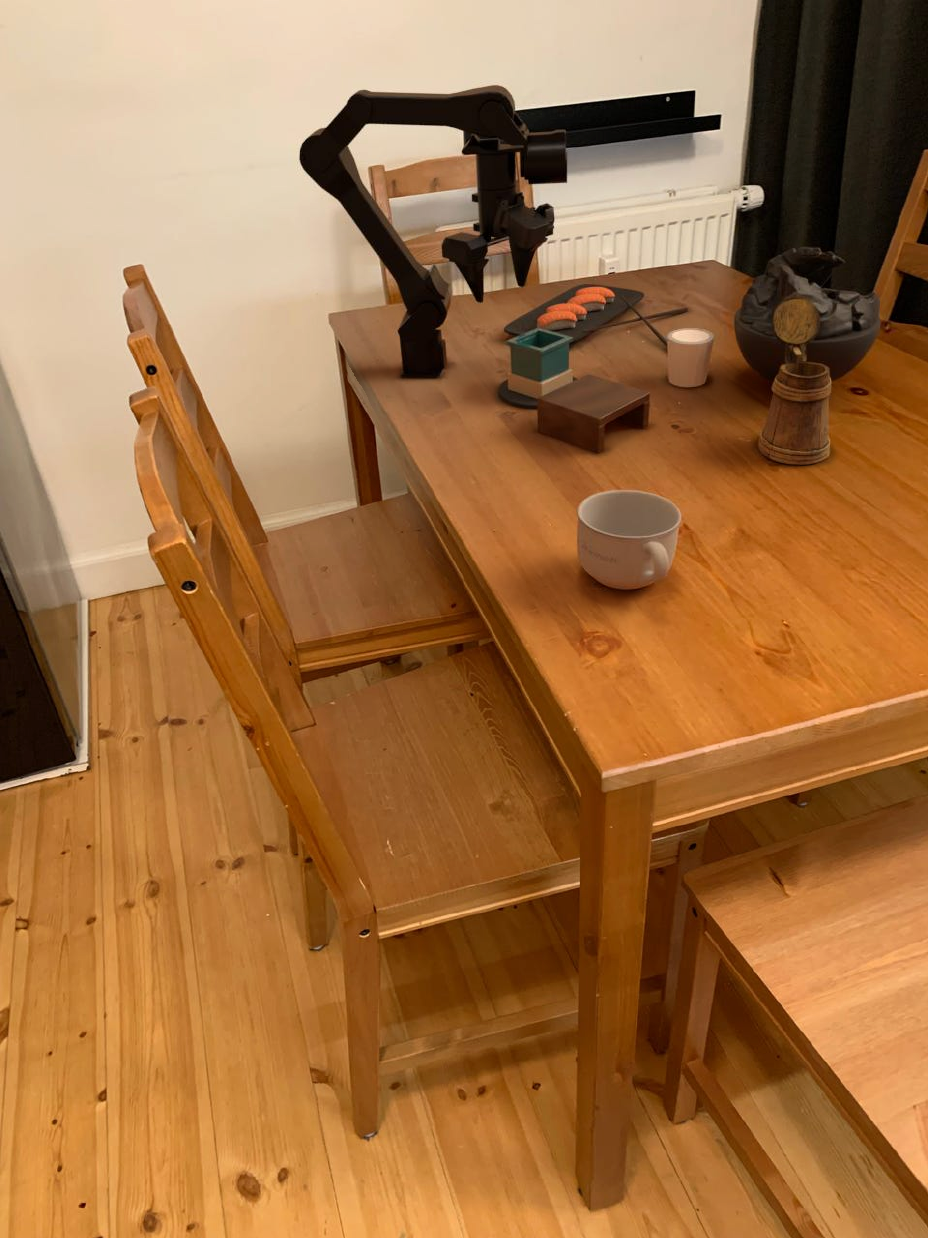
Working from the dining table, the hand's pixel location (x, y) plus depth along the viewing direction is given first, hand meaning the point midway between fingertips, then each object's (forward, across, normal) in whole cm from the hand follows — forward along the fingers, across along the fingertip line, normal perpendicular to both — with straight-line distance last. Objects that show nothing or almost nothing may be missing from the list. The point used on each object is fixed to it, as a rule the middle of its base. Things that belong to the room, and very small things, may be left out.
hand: (500, 294), depth 148 cm
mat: (+12, -3, -11) cm, 17 cm away
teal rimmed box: (+8, -3, -7) cm, 11 cm away
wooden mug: (+12, +4, -49) cm, 50 cm away
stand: (+12, -8, -26) cm, 29 cm away
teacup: (+12, -36, -53) cm, 65 cm away
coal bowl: (+12, +22, -39) cm, 47 cm away
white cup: (+12, +14, -26) cm, 32 cm away
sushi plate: (+12, +25, -3) cm, 28 cm away
